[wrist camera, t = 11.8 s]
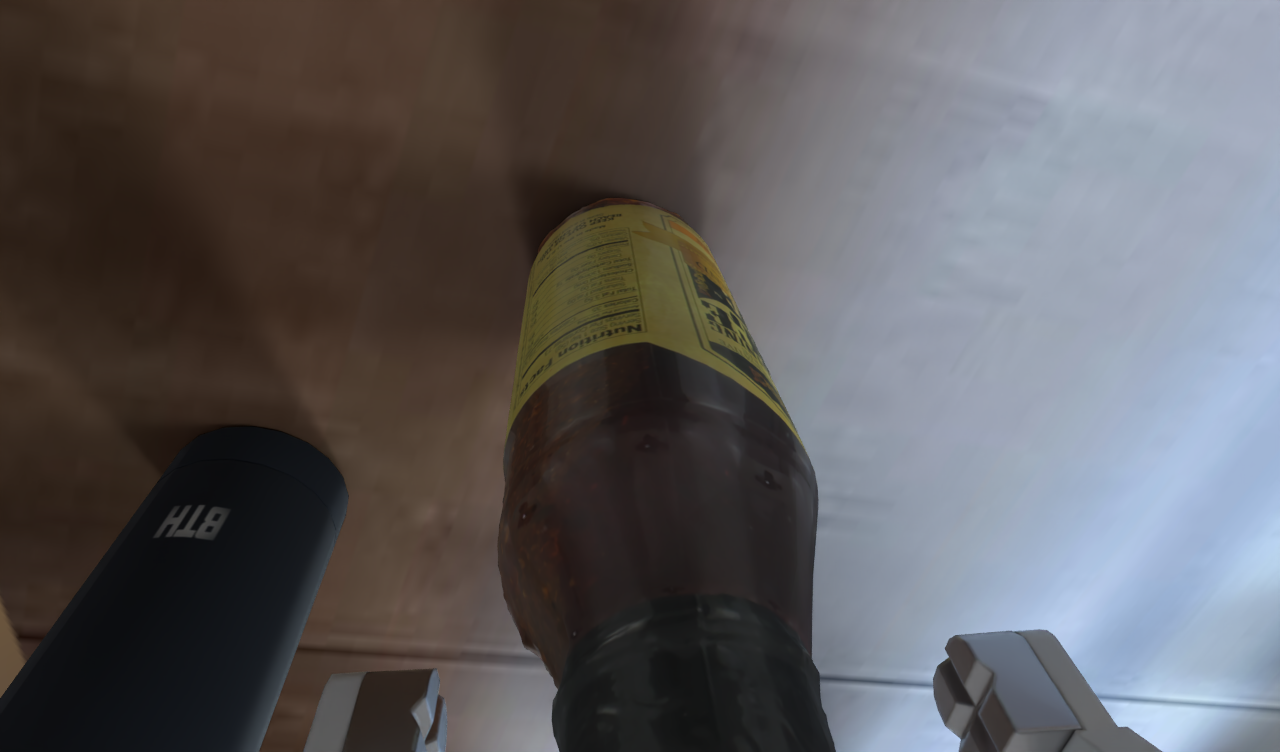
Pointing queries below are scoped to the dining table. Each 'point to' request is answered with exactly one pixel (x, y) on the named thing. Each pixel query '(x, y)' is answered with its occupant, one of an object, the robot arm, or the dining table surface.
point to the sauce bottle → (656, 501)
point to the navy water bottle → (188, 607)
